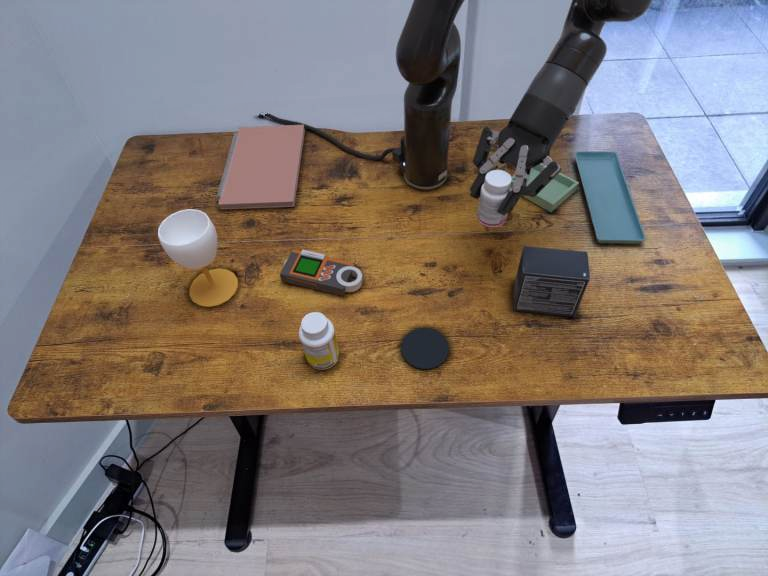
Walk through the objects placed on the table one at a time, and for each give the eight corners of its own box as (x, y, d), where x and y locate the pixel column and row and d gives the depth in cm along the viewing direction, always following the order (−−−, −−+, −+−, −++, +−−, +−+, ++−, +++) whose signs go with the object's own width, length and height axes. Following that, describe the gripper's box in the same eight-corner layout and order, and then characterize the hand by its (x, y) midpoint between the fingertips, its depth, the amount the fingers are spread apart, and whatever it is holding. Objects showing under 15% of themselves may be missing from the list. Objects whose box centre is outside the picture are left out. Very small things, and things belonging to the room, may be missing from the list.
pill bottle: (505, 229, 82) (513, 189, 75) (475, 226, 83) (481, 186, 76) (506, 209, 85) (514, 169, 78) (478, 206, 86) (483, 166, 79)
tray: (506, 187, 109) (508, 179, 107) (532, 167, 112) (534, 159, 111) (550, 212, 104) (553, 204, 102) (576, 190, 107) (579, 182, 106)
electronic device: (355, 291, 90) (277, 272, 92) (356, 300, 92) (280, 282, 95) (367, 263, 94) (291, 245, 96) (367, 273, 96) (293, 255, 99)
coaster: (391, 349, 85) (391, 347, 85) (423, 320, 89) (424, 319, 88) (426, 379, 82) (426, 377, 81) (458, 348, 85) (459, 347, 84)
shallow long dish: (643, 247, 97) (648, 238, 95) (594, 247, 97) (598, 238, 95) (613, 160, 113) (616, 151, 111) (571, 160, 113) (573, 150, 111)
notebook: (236, 133, 125) (234, 126, 123) (305, 130, 124) (303, 123, 123) (215, 210, 108) (212, 203, 106) (294, 207, 108) (292, 200, 106)
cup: (185, 278, 97) (151, 217, 84) (232, 263, 99) (206, 201, 86) (194, 314, 91) (159, 254, 79) (243, 296, 93) (217, 236, 81)
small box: (573, 289, 91) (589, 249, 83) (575, 318, 87) (592, 280, 79) (513, 282, 93) (523, 243, 85) (512, 311, 89) (523, 273, 81)
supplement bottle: (323, 336, 87) (314, 301, 79) (346, 354, 85) (340, 319, 77) (299, 358, 85) (288, 324, 77) (323, 377, 82) (314, 344, 74)
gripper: (500, 77, 75) (442, 180, 80) (585, 115, 69) (516, 225, 73) (516, 94, 82) (461, 189, 86) (595, 131, 75) (531, 231, 80)
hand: (487, 205), depth 80 cm, fingers closed on pill bottle, 4 cm apart
